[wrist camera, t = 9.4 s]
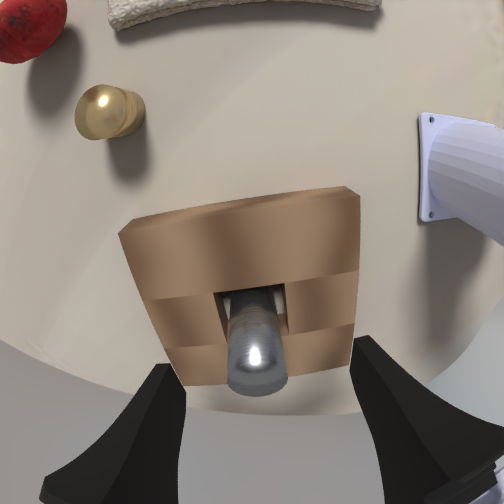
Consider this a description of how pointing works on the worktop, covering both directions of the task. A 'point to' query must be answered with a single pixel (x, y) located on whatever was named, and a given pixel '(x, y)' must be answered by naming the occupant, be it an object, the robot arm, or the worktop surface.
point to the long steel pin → (255, 343)
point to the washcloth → (166, 3)
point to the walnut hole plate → (250, 276)
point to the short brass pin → (108, 112)
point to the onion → (29, 27)
